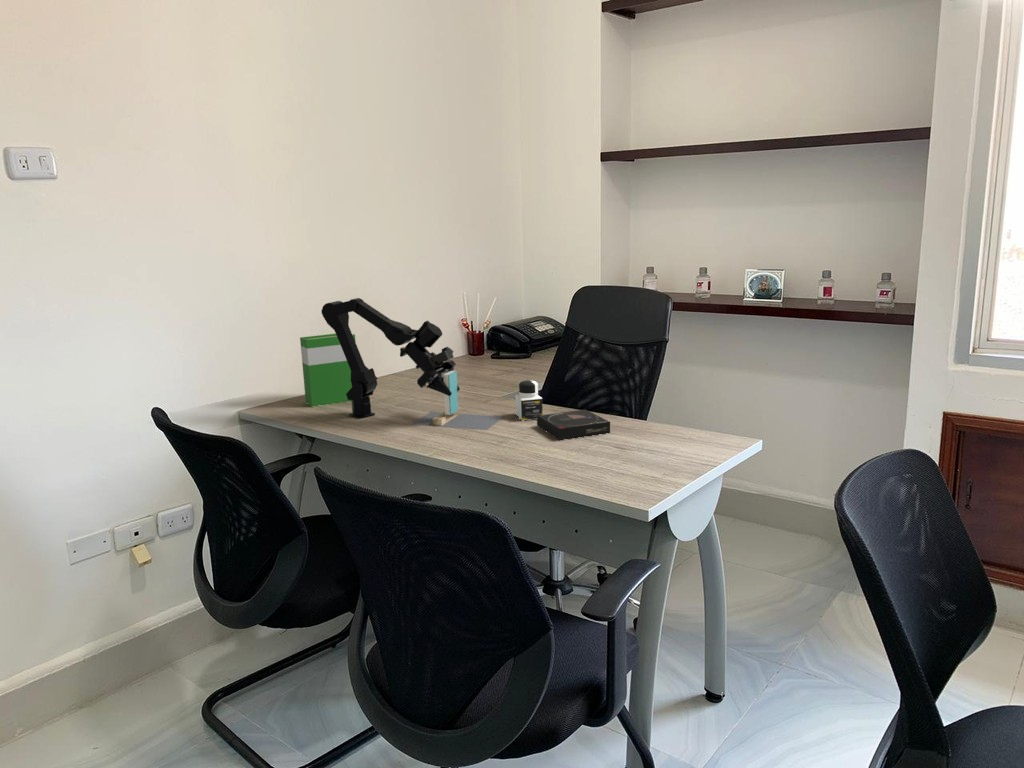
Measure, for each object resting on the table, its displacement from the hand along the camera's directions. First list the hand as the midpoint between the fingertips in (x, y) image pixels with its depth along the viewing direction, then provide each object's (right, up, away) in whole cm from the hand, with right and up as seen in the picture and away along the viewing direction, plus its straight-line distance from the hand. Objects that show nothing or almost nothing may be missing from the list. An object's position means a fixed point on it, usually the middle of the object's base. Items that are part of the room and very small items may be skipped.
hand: (454, 392), depth 244 cm
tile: (-1, 0, 0) cm, 1 cm away
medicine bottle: (+24, -8, +5) cm, 26 cm away
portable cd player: (+37, -12, -10) cm, 40 cm away
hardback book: (-47, -4, +34) cm, 58 cm away
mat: (+1, -9, +2) cm, 10 cm away
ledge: (-3, -9, +3) cm, 10 cm away
